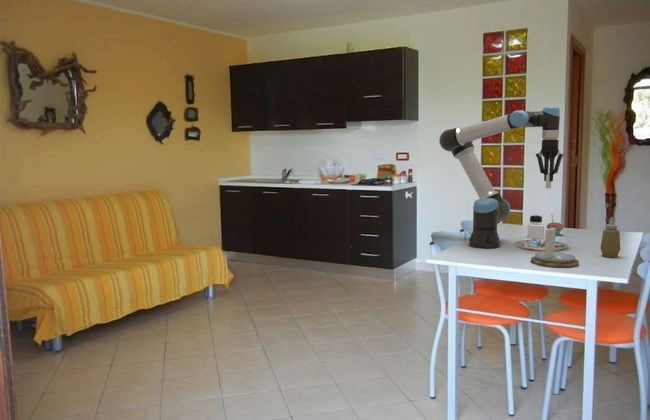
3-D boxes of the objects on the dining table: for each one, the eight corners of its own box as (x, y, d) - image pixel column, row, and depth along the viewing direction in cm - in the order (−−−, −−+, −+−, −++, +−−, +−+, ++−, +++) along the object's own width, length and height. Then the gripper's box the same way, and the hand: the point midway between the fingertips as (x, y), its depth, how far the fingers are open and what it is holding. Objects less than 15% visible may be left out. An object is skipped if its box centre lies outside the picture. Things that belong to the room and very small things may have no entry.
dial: (564, 264, 228) (565, 232, 226) (527, 258, 240) (528, 227, 238) (581, 259, 238) (583, 228, 237) (545, 253, 250) (547, 224, 249)
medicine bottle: (543, 238, 298) (544, 216, 297) (529, 238, 300) (530, 216, 298) (541, 236, 305) (541, 214, 304) (527, 236, 307) (528, 214, 305)
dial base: (523, 263, 238) (523, 259, 238) (540, 256, 252) (540, 252, 252) (569, 270, 226) (569, 265, 226) (584, 262, 240) (585, 258, 240)
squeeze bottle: (597, 256, 252) (599, 217, 250) (603, 253, 258) (605, 215, 255) (616, 259, 246) (618, 218, 244) (622, 256, 252) (624, 217, 250)
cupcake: (547, 235, 307) (548, 214, 306) (545, 233, 315) (546, 212, 314) (564, 236, 305) (565, 214, 304) (561, 233, 313) (562, 212, 312)
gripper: (566, 139, 266) (564, 188, 269) (539, 139, 275) (537, 186, 278) (561, 139, 261) (559, 189, 263) (533, 139, 269) (531, 187, 272)
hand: (548, 188), depth 271 cm, fingers closed
